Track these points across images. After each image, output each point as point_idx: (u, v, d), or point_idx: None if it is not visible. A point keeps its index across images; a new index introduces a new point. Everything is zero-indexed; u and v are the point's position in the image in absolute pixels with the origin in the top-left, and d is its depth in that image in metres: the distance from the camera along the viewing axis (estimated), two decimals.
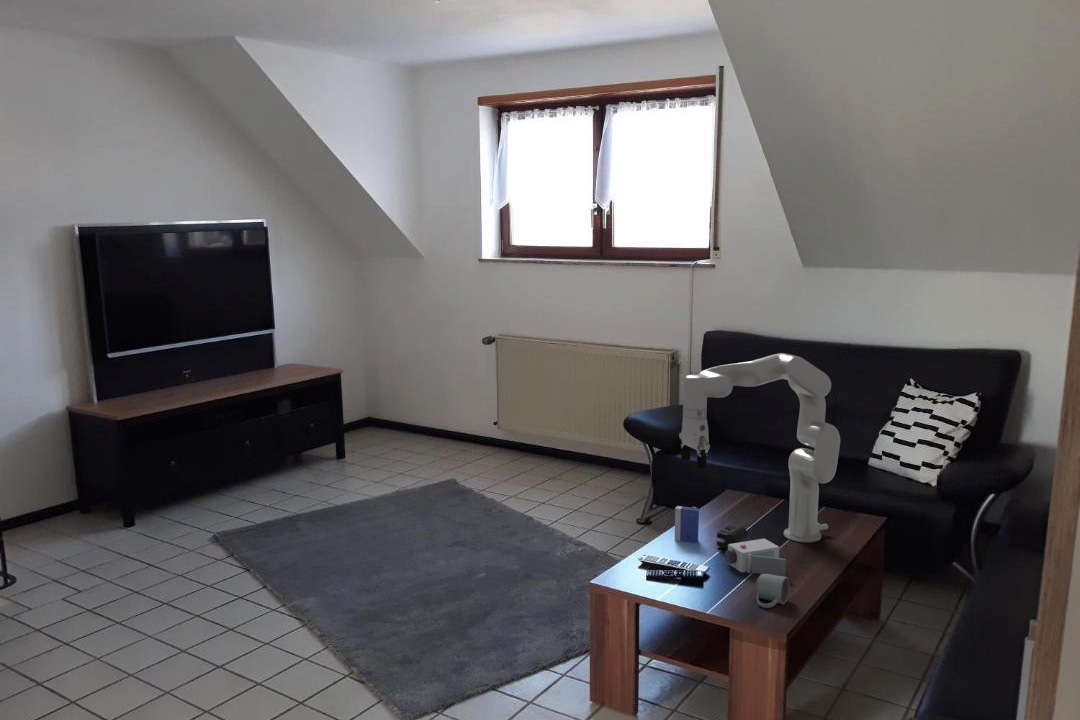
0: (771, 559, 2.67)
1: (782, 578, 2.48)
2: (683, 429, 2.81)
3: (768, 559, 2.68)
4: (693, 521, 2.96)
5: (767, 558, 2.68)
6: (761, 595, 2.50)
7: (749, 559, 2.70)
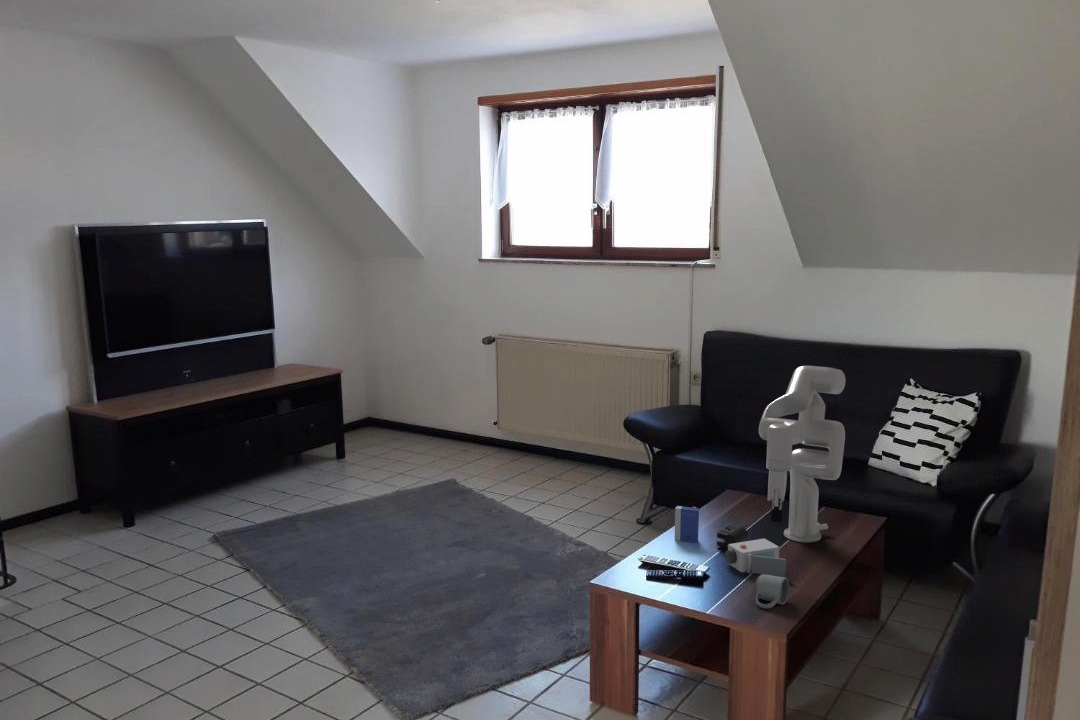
0: (771, 559, 2.67)
1: (781, 579, 2.48)
2: (785, 485, 2.63)
3: (768, 559, 2.68)
4: (693, 521, 2.96)
5: (767, 558, 2.68)
6: (760, 596, 2.49)
7: (749, 559, 2.70)
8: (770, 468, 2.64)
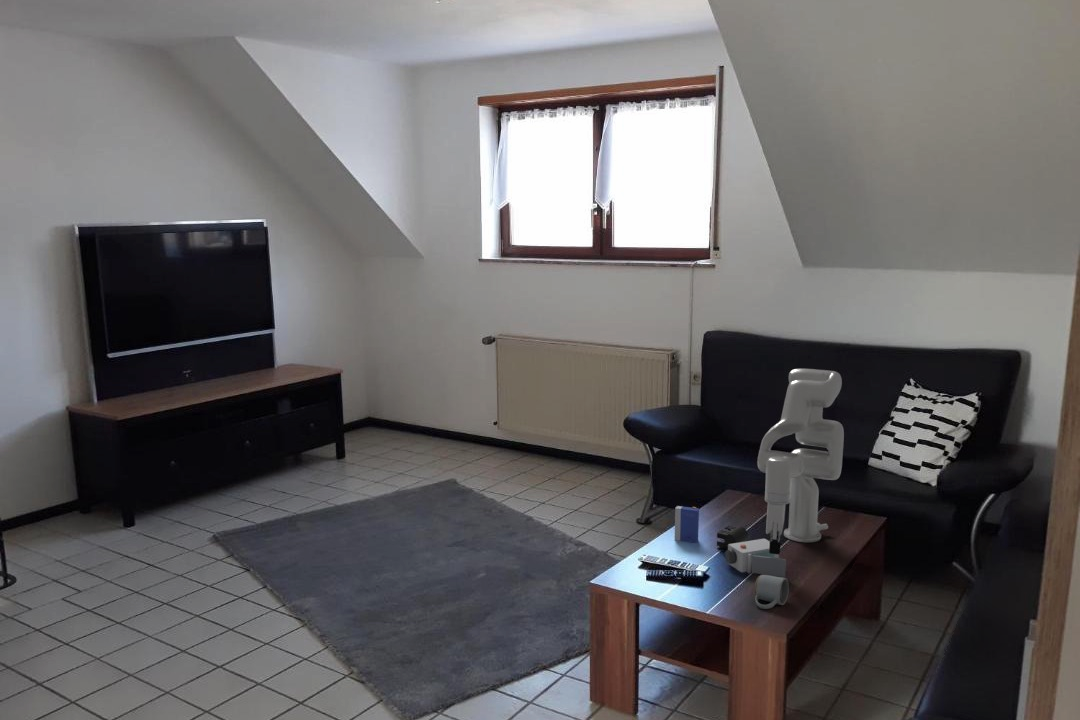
0: (771, 559, 2.67)
1: (781, 579, 2.48)
2: (783, 518, 2.65)
3: (768, 559, 2.68)
4: (693, 521, 2.96)
5: (767, 558, 2.68)
6: (760, 596, 2.49)
7: (749, 559, 2.70)
8: (769, 501, 2.66)
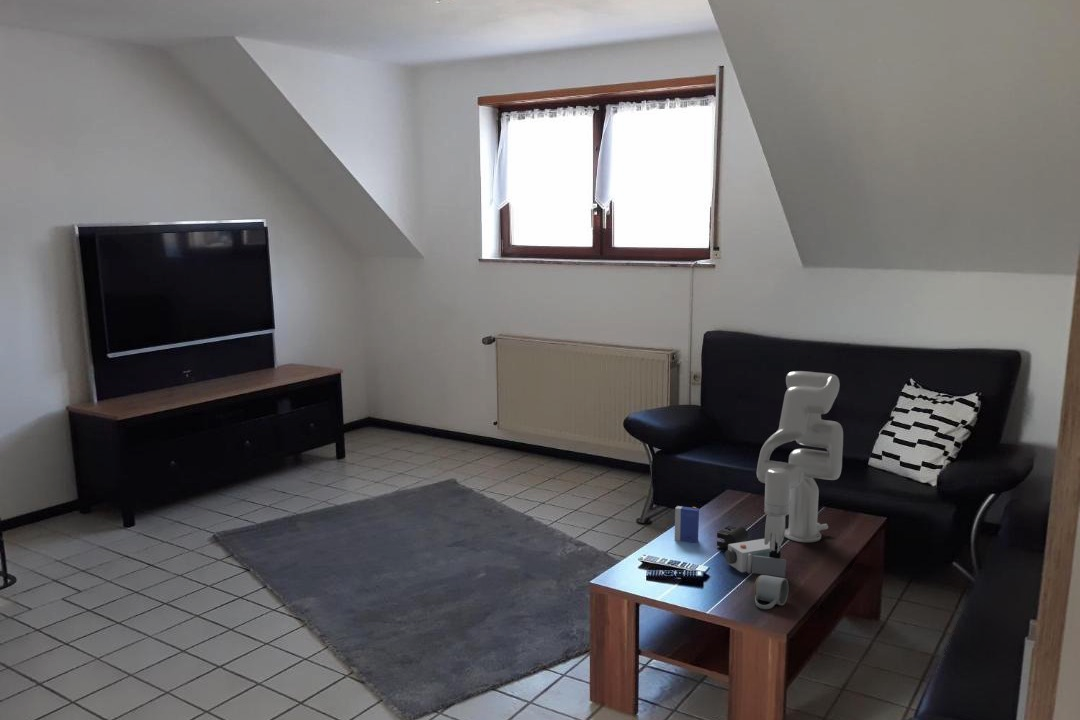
0: (771, 559, 2.67)
1: (780, 579, 2.47)
2: (782, 530, 2.65)
3: (768, 559, 2.68)
4: (693, 521, 2.96)
5: (767, 558, 2.68)
6: (760, 596, 2.49)
7: (749, 559, 2.70)
8: (767, 512, 2.66)
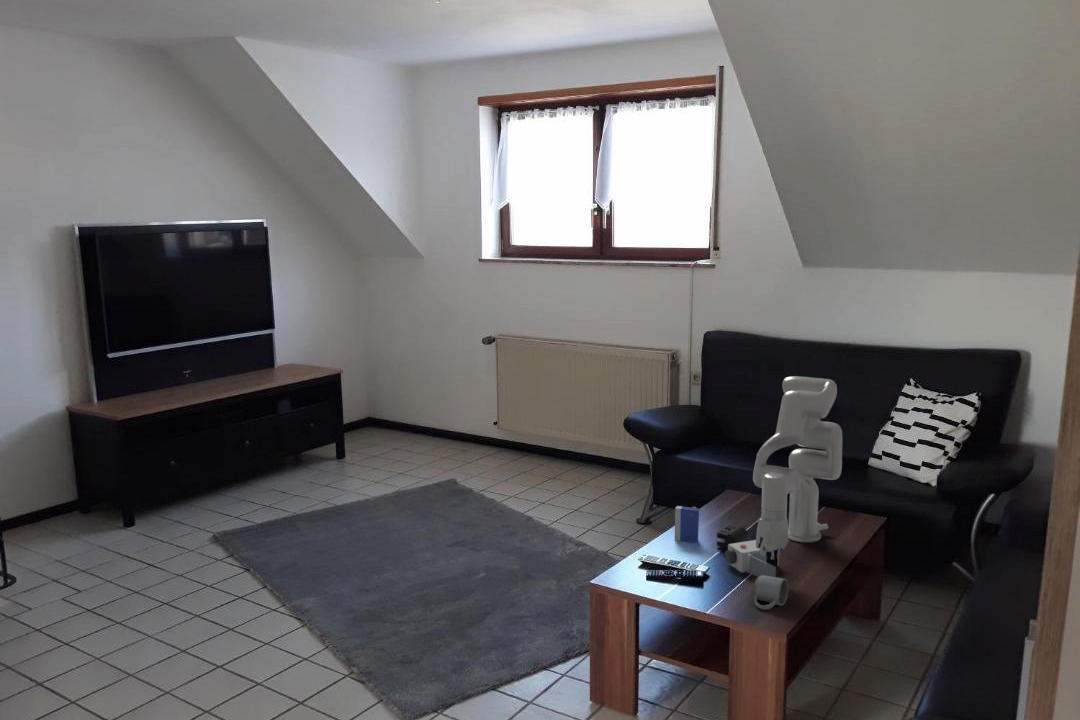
0: (764, 563, 2.64)
1: (780, 580, 2.47)
2: (772, 536, 2.60)
3: (761, 562, 2.65)
4: (693, 521, 2.96)
5: (761, 562, 2.65)
6: (759, 597, 2.49)
7: (748, 558, 2.70)
8: (761, 515, 2.63)
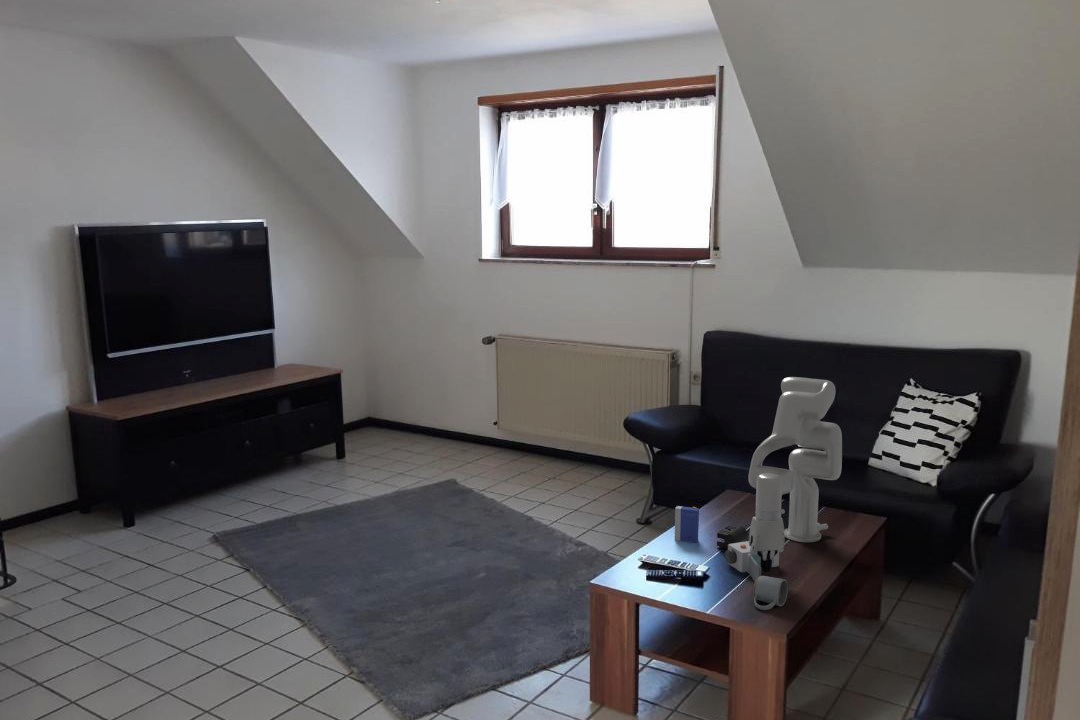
0: (754, 564, 2.63)
1: (780, 580, 2.47)
2: (761, 535, 2.61)
3: (754, 563, 2.64)
4: (693, 521, 2.96)
5: (754, 562, 2.65)
6: (759, 597, 2.48)
7: None
8: None
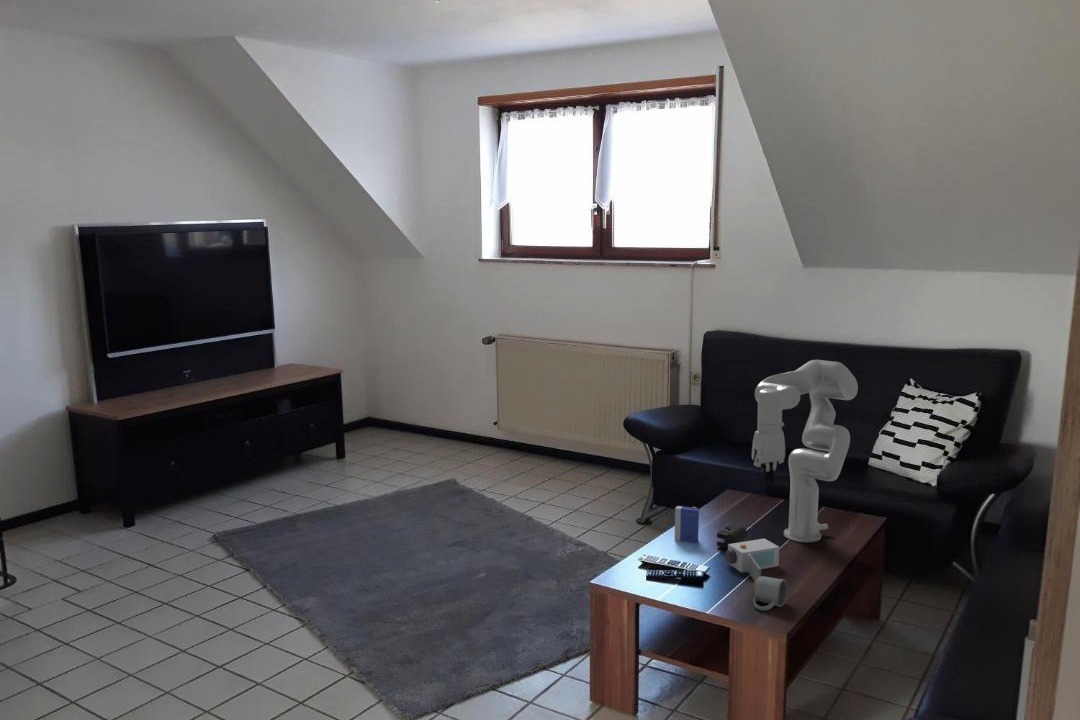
0: (754, 564, 2.63)
1: (779, 581, 2.46)
2: (765, 448, 2.73)
3: (754, 563, 2.64)
4: (693, 521, 2.96)
5: (753, 562, 2.65)
6: (758, 598, 2.48)
7: None
8: (757, 429, 2.76)
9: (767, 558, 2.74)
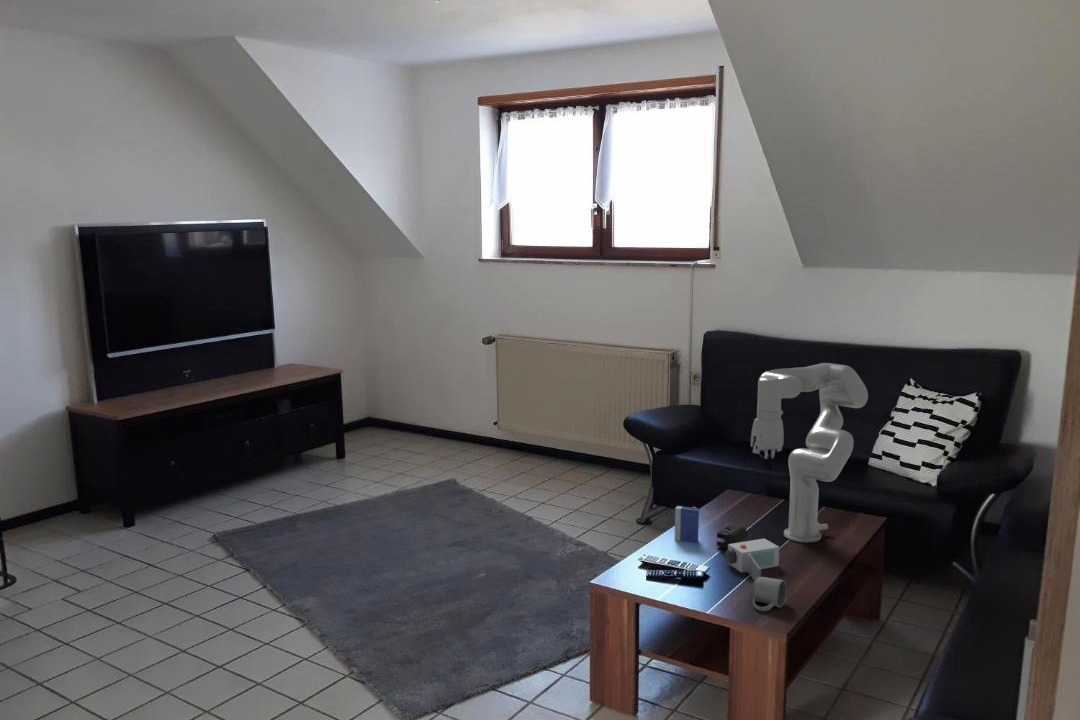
0: (754, 564, 2.63)
1: (778, 581, 2.46)
2: (764, 435, 2.77)
3: (754, 563, 2.64)
4: (693, 521, 2.96)
5: (753, 562, 2.65)
6: (757, 598, 2.48)
7: None
8: None
9: (767, 558, 2.74)
